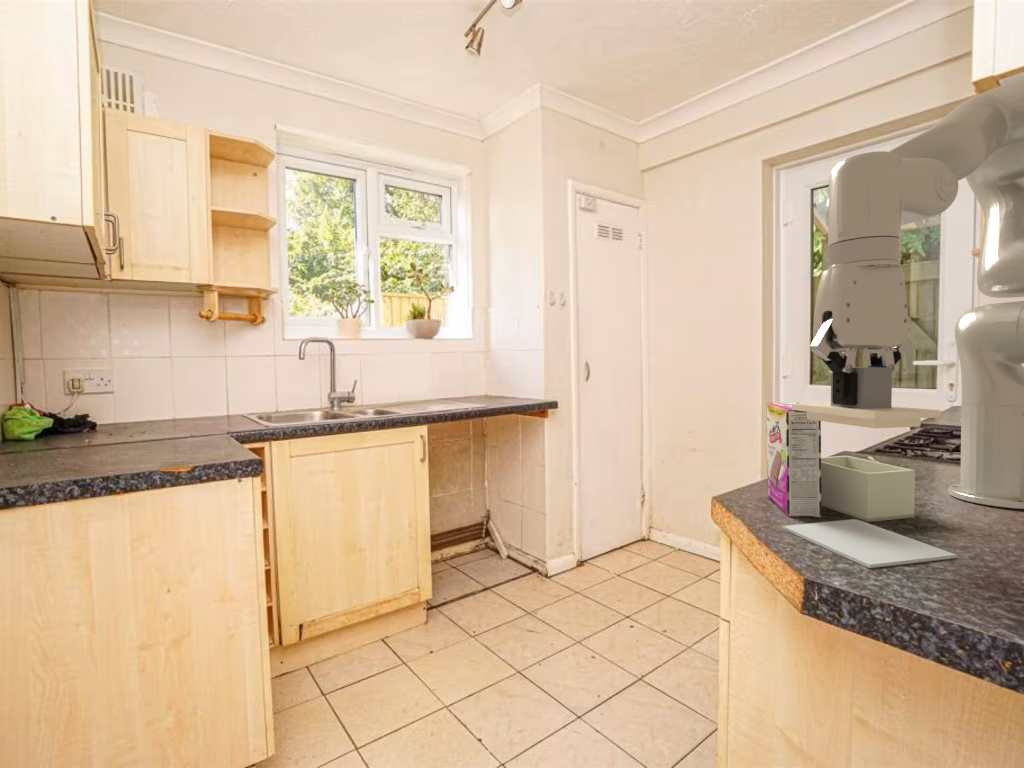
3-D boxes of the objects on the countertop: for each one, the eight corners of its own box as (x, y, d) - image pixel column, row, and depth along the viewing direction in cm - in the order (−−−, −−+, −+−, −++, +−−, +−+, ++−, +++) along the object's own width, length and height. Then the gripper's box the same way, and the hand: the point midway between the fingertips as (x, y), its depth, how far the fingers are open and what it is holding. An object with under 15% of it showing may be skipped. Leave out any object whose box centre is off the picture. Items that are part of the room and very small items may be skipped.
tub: (846, 496, 87) (846, 455, 87) (914, 517, 75) (914, 470, 75) (805, 500, 86) (805, 458, 85) (867, 521, 74) (868, 473, 73)
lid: (847, 416, 72) (848, 367, 72) (940, 427, 60) (941, 367, 59) (791, 418, 71) (792, 367, 70) (874, 430, 58) (876, 368, 58)
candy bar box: (765, 497, 88) (764, 402, 87) (797, 498, 87) (797, 401, 86) (786, 517, 77) (786, 408, 76) (823, 518, 76) (823, 408, 75)
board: (855, 521, 74) (855, 519, 74) (956, 557, 60) (956, 554, 60) (782, 528, 72) (782, 526, 72) (869, 568, 58) (869, 564, 58)
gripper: (891, 266, 70) (889, 401, 70) (782, 262, 66) (781, 403, 67) (948, 254, 62) (944, 405, 63) (828, 249, 59) (826, 408, 60)
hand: (860, 402), depth 65 cm, fingers closed on lid, 4 cm apart
